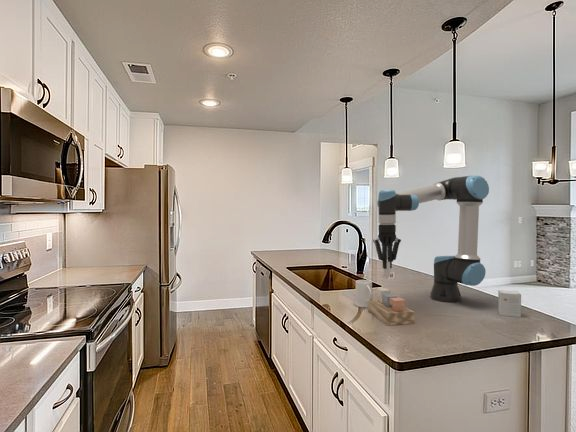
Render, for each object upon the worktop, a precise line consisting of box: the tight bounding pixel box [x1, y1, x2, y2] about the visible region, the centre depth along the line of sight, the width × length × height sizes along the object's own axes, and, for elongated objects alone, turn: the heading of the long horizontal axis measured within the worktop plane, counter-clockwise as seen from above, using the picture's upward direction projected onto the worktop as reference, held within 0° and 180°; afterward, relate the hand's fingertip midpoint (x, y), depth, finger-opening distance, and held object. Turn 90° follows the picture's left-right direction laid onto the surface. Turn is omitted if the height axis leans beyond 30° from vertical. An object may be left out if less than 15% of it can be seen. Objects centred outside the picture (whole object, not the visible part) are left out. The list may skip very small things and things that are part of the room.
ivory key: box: [376, 287, 392, 304], centre depth 164 cm, size 5×5×7 cm
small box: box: [497, 289, 522, 318], centre depth 161 cm, size 8×6×10 cm
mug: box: [354, 279, 373, 308], centre depth 176 cm, size 12×8×12 cm
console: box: [367, 299, 415, 326], centre depth 158 cm, size 12×20×5 cm, turn 10°
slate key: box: [383, 293, 399, 308], centre depth 158 cm, size 5×5×7 cm
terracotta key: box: [389, 296, 406, 312], centre depth 151 cm, size 5×5×7 cm
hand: (387, 275), depth 161 cm, fingers closed
